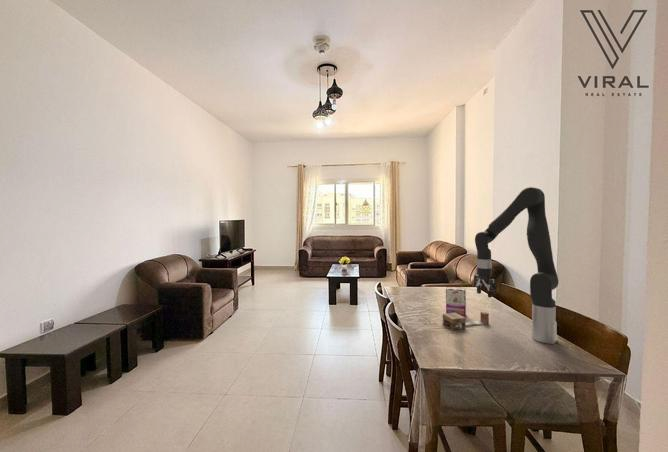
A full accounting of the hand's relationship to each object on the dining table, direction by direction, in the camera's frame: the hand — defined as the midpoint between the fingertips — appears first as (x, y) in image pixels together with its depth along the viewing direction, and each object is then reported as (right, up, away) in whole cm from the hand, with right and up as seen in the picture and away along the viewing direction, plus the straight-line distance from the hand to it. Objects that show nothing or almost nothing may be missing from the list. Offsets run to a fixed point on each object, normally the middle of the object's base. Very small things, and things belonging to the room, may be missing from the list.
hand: (484, 295), depth 163 cm
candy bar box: (-9, -16, +16) cm, 24 cm away
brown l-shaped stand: (-5, -16, -1) cm, 17 cm away
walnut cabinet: (-19, -17, -3) cm, 25 cm away
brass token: (-19, -17, -3) cm, 25 cm away
